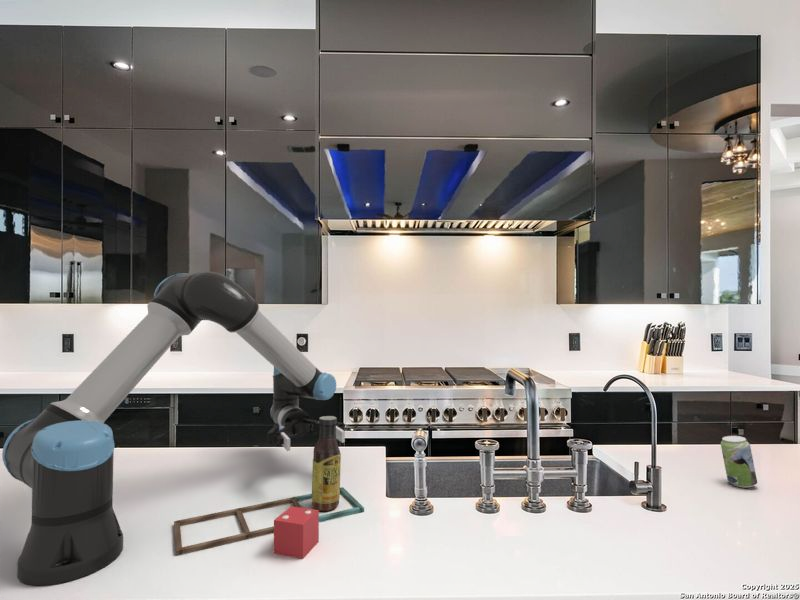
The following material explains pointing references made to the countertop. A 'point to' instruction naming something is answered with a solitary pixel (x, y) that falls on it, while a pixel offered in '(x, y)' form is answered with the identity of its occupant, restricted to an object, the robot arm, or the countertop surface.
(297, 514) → the red die
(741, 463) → the beverage can
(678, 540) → the countertop surface
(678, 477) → the countertop surface
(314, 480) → the sauce bottle
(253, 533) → the brown flat rectangular frame
